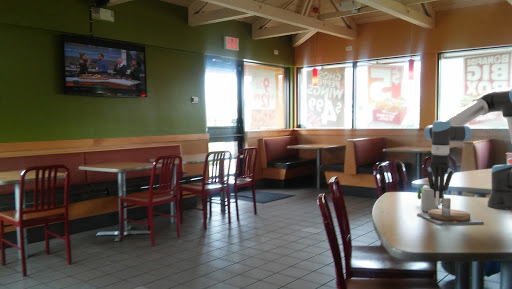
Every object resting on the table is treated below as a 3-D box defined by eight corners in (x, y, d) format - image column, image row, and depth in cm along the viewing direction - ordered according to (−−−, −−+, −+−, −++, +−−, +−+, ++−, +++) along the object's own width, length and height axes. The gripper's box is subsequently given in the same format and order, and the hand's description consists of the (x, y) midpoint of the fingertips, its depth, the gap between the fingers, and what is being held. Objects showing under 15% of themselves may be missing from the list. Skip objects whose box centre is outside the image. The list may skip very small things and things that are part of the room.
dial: (432, 211, 212) (432, 191, 211) (472, 215, 202) (472, 194, 201) (424, 218, 196) (424, 197, 195) (467, 223, 186) (467, 200, 185)
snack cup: (449, 209, 223) (449, 190, 223) (434, 210, 219) (434, 191, 219) (427, 204, 238) (427, 186, 237) (412, 205, 234) (412, 187, 233)
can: (438, 213, 214) (438, 189, 213) (422, 212, 215) (422, 189, 215) (435, 210, 221) (435, 187, 220) (420, 209, 222) (420, 187, 222)
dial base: (457, 214, 210) (457, 211, 210) (483, 224, 190) (483, 221, 189) (417, 215, 209) (417, 212, 209) (439, 225, 188) (439, 222, 188)
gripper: (422, 153, 195) (420, 204, 197) (450, 155, 186) (448, 208, 187) (430, 153, 200) (428, 202, 202) (457, 155, 191) (455, 206, 192)
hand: (438, 205), depth 194 cm, fingers closed
